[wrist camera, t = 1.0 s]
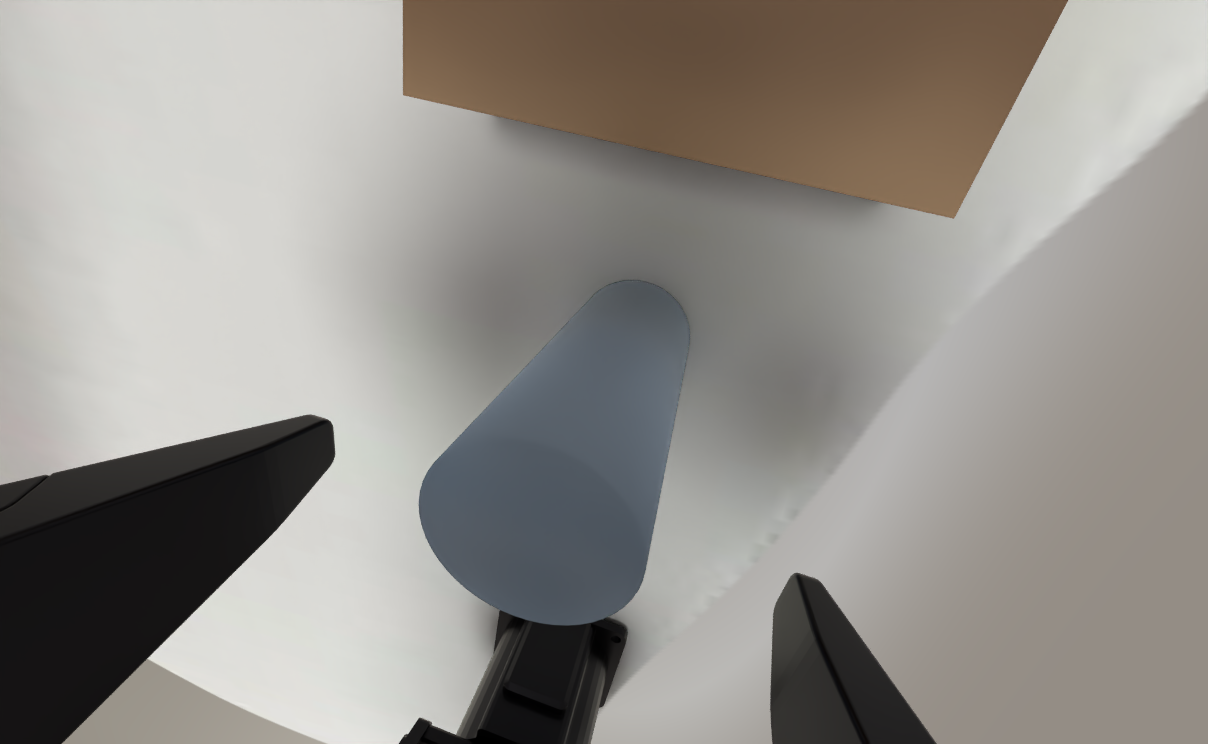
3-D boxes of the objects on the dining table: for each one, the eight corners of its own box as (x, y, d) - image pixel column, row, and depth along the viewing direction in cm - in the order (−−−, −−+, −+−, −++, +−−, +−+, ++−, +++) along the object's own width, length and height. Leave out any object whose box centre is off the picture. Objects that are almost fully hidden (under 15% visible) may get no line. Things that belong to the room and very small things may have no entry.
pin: (673, 398, 17) (617, 653, 8) (571, 369, 18) (417, 580, 9) (704, 297, 15) (675, 485, 7) (589, 267, 16) (420, 405, 7)
